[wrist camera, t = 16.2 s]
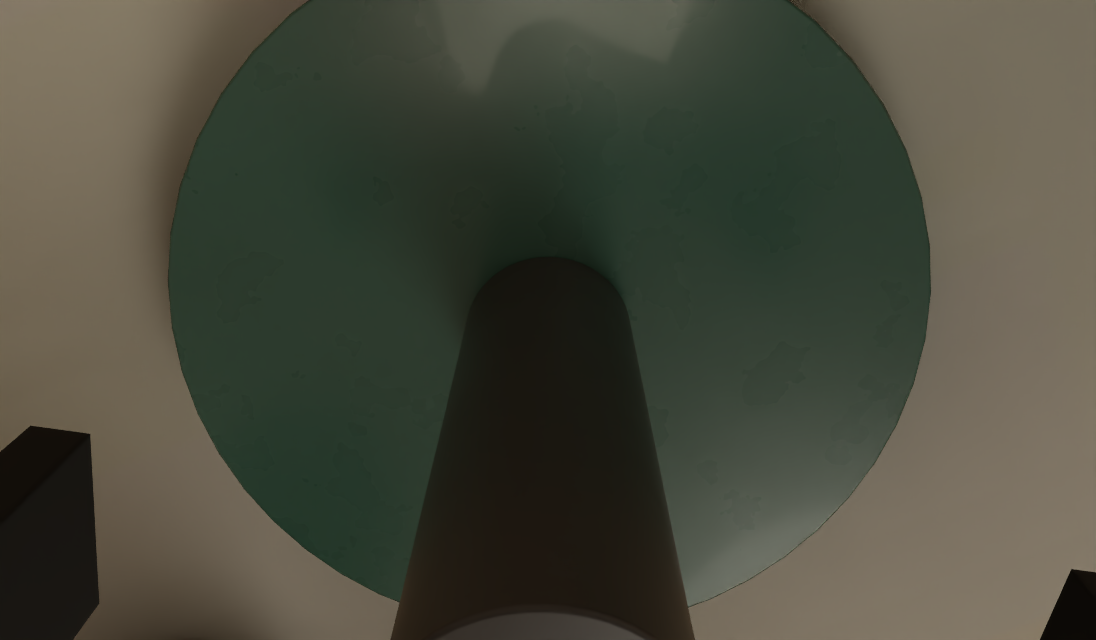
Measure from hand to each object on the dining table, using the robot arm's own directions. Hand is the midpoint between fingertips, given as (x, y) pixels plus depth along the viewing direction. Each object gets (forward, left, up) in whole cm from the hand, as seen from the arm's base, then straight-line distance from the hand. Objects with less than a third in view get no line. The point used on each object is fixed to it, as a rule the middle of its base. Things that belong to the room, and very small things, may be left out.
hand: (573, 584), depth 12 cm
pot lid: (0, 0, -9) cm, 9 cm away
